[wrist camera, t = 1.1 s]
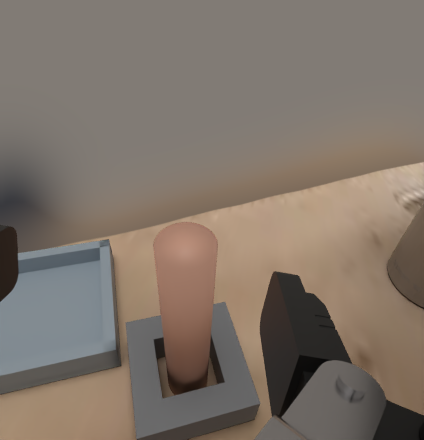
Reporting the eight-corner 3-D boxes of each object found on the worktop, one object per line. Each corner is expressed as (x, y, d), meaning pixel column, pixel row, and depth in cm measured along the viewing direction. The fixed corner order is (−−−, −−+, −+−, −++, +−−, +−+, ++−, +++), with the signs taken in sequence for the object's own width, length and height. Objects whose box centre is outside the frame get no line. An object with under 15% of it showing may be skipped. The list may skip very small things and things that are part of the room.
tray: (113, 257, 39) (108, 239, 37) (121, 365, 30) (116, 349, 28) (-33, 281, 36) (-46, 263, 34) (-74, 411, 27) (-95, 397, 25)
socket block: (222, 321, 34) (225, 301, 31) (254, 419, 27) (260, 403, 25) (130, 342, 32) (125, 322, 29) (141, 452, 25) (136, 438, 23)
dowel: (202, 355, 31) (208, 218, 19) (211, 393, 29) (225, 262, 17) (165, 364, 30) (149, 227, 19) (171, 403, 28) (158, 274, 16)
